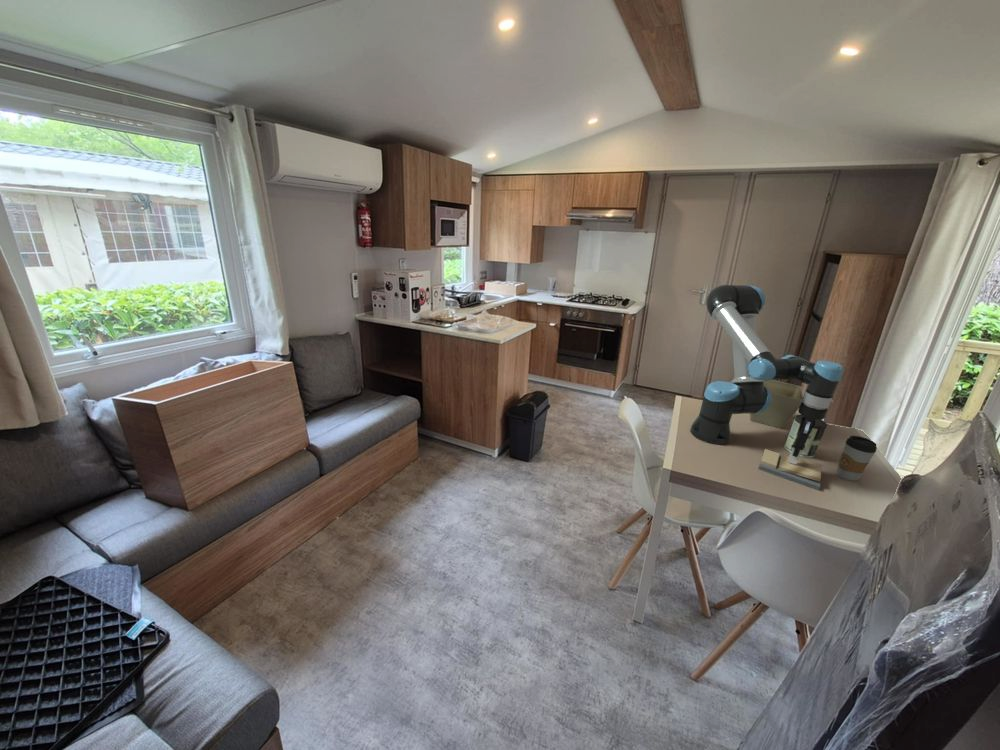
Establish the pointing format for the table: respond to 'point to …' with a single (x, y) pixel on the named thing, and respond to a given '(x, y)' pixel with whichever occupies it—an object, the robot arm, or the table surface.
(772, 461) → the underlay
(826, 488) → the table surface
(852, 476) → the coffee cup
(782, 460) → the plank
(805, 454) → the coffee can
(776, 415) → the flower pot
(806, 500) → the table surface
